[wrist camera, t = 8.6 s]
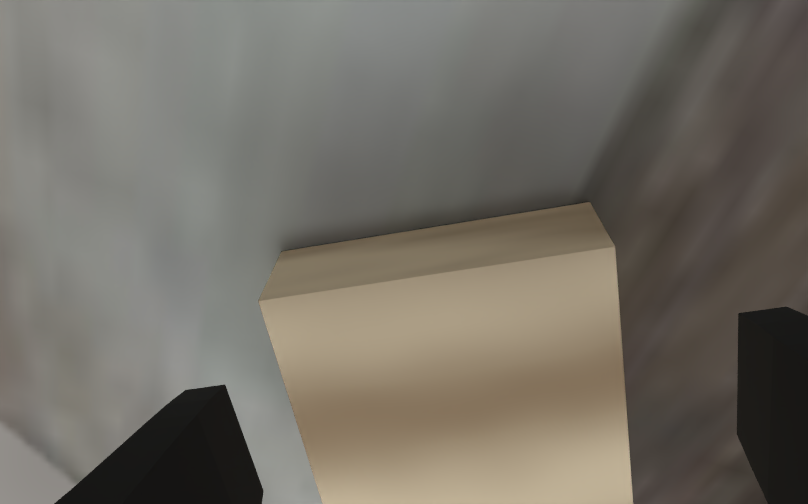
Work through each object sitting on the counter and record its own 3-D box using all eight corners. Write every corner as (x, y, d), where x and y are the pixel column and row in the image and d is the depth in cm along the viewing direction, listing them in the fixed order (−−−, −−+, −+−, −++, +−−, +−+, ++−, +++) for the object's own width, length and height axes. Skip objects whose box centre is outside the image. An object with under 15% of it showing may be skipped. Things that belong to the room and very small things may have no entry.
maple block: (610, 450, 23) (634, 520, 20) (348, 481, 24) (337, 552, 21) (590, 202, 19) (614, 246, 17) (281, 251, 20) (258, 301, 18)
